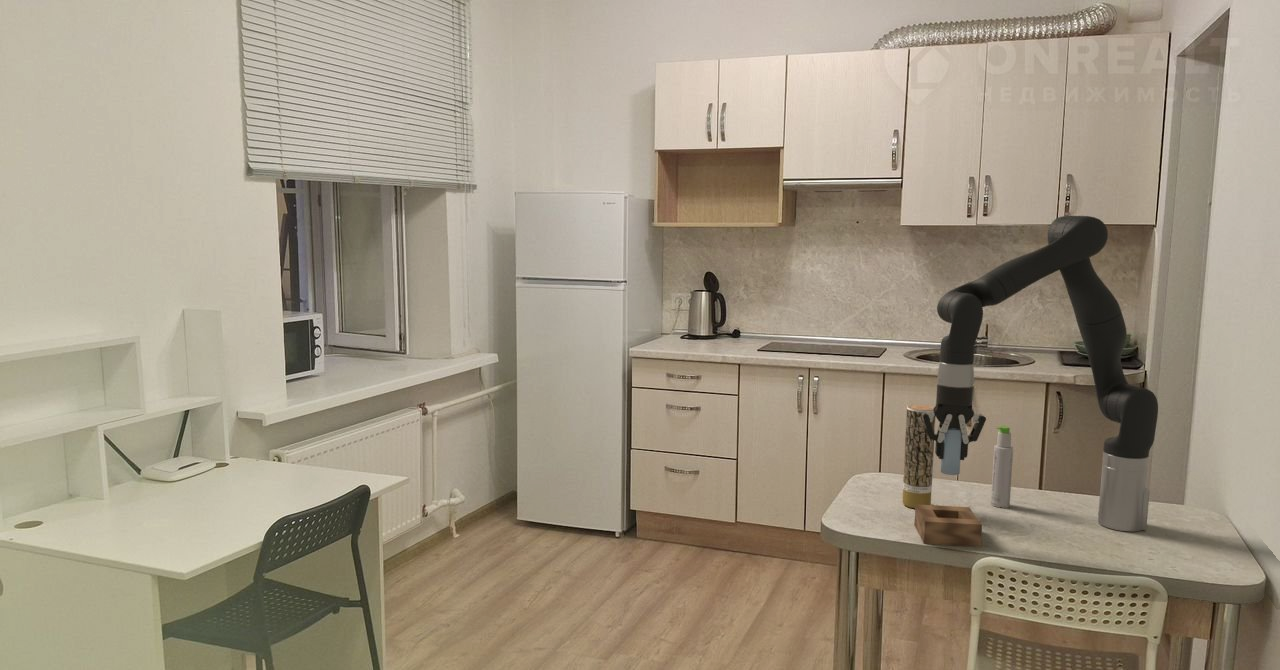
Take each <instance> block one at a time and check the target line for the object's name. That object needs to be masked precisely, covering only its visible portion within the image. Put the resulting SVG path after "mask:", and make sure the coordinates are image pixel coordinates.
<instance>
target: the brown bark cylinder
mask: <svg viewBox="0 0 1280 670" xmlns="http://www.w3.org/2000/svg"><path fill="white" fill-rule="evenodd" d="M934 408H935V406H932V405H927V404H909V405H907V406H906V419H905V421H906V422H905V438H904V439H905V440H904V442H905V443H904V460H903V462H904V463H903V477H902V478H903V481H902V482H903V483H902V504H903V505H904V506H905V507H908V508H911V509H915V504H919V505H932V491H933V489H932V488H933V485H932V484H933V472H934V471H933V470H934V469H933V468H934V454H935V453H934V452H935V440H931V439H930V438H929V437H928V436H927V433H926V429H925V426H924V423H923V419H922V416H921V413H922V412H926V413H927V412H930V411H933V410H934ZM931 425H932V429H933V432H934V434H936V433H935V432H936V416H933V421H932V422H931Z"/></svg>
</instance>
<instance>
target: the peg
mask: <svg viewBox="0 0 1280 670" xmlns="http://www.w3.org/2000/svg"><path fill="white" fill-rule="evenodd" d="M943 443H944V450H943V459H940V462H941V463H940V473H942V474H944V475H948V476H959V475H960V473H961V460H960V459H961V443H962V435H961V430H960V429H956V428H950V429H948V430H947V432H946V434H945V436H944V439H943Z"/></svg>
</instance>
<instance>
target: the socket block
mask: <svg viewBox="0 0 1280 670" xmlns="http://www.w3.org/2000/svg"><path fill="white" fill-rule="evenodd" d="M913 523H914V525H913V526H914V527H915V529H916V531H917V533H918V536H919V537H920V539H921V542H922V543H923V544H925V545H927V544H928V545H940V546H941V545H943V546H960V547H963V546H964V547H975V548H976V547H978V548H980V547H981V548H982V537H983V536H982V534H983V533H982V532H983V524H982V523H981V520H979V518H978V516H977V515H975V513H974V512H973V510H972V509H971V508H970V506H956V505H955V506H954V505H953V506H951V505H938V504H937V505H933V504H931V505H919V504H915V508H914V522H913Z"/></svg>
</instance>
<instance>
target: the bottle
mask: <svg viewBox="0 0 1280 670" xmlns="http://www.w3.org/2000/svg"><path fill="white" fill-rule="evenodd" d="M996 429H998V430H999V431H998V432H997V439H996V441H997V442H996V444H995V445H994V446H993V461H992V463H993V464H992V476H991V477H992V480H991V491H990V492H991V495H990V505H991V506H993V507H995V506H996V508H1000V507H1002V508H1003V509H1005V508H1006V509H1007V508H1009V507H1010V506H1011V505H1010V504H1011V490H1012V489H1011V488H1012V487H1011V486H1012V476H1013V475H1012V474H1013V473H1012V472H1013V460H1014V458H1013V457H1014V447H1013V446H1012V433H1011V432H1010V427H1009V426H1003V425H1002V426H999V427H996Z"/></svg>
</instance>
